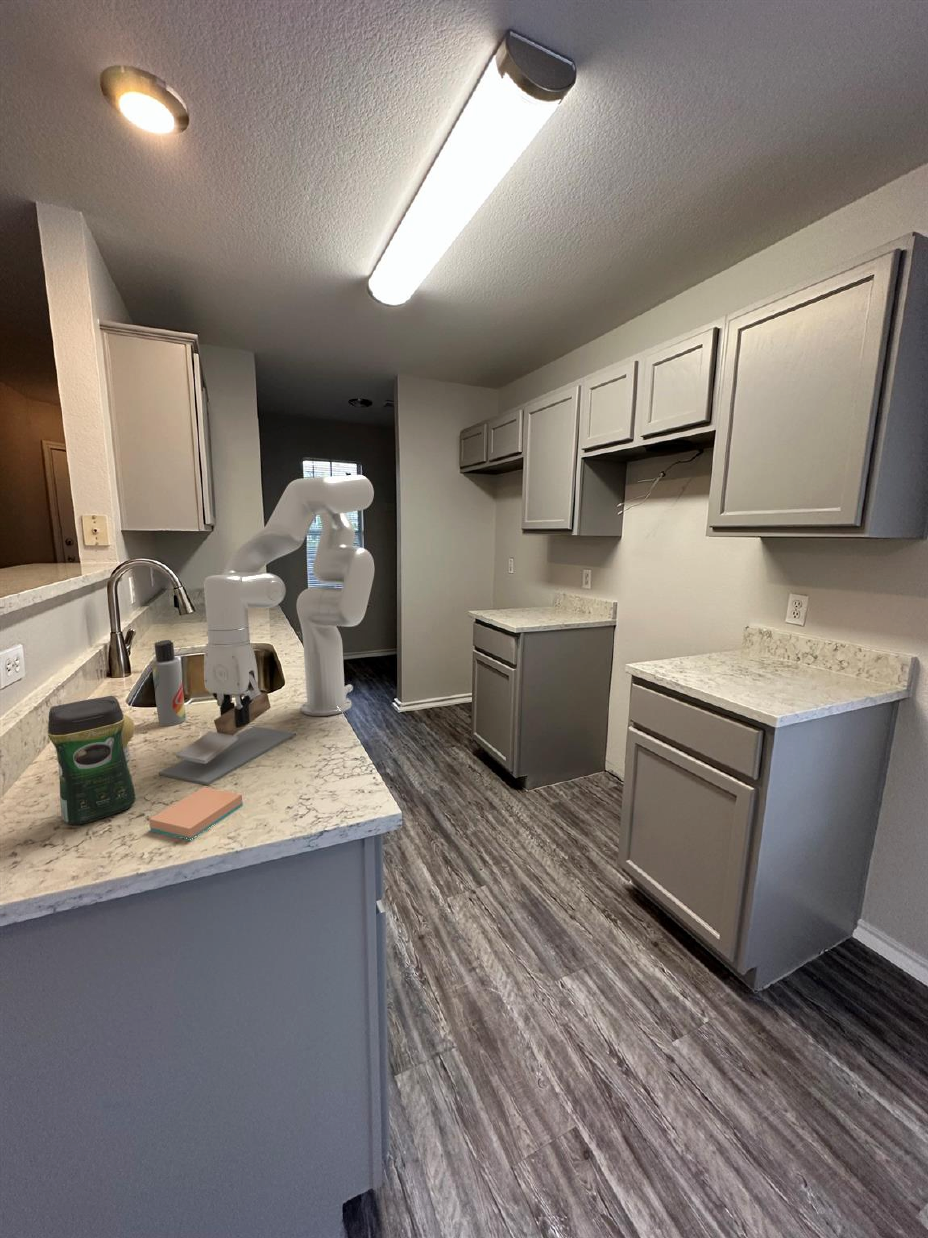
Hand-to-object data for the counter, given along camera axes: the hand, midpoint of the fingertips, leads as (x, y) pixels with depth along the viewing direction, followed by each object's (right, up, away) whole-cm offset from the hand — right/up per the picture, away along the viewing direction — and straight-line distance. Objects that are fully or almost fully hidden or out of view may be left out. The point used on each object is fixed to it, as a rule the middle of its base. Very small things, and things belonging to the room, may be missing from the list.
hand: (235, 723), depth 100 cm
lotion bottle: (-24, -4, +18) cm, 30 cm away
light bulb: (-21, -7, -4) cm, 23 cm away
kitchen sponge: (+7, -8, -19) cm, 22 cm away
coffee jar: (-12, -10, -21) cm, 26 cm away
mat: (0, -6, 0) cm, 6 cm away
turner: (0, -1, -1) cm, 2 cm away
